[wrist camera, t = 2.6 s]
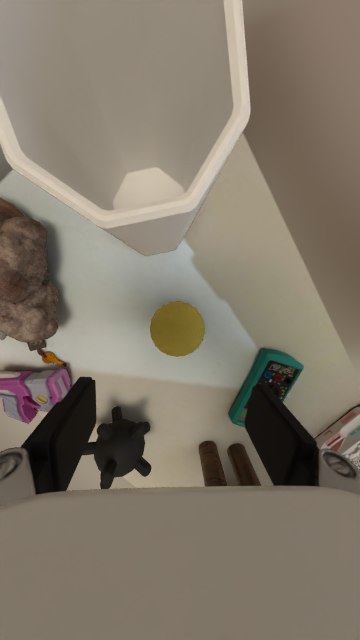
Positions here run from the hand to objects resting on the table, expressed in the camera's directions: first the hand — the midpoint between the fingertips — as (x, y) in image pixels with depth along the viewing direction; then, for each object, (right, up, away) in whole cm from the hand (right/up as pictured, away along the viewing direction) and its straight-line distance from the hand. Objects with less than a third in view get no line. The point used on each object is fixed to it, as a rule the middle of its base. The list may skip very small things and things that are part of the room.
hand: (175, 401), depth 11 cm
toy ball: (-9, -14, +23) cm, 28 cm away
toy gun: (-22, -12, +20) cm, 32 cm away
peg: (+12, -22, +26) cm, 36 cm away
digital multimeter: (+15, -7, +23) cm, 28 cm away
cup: (-4, +19, +14) cm, 24 cm away
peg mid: (+6, -21, +26) cm, 34 cm away
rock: (-22, +12, +16) cm, 30 cm away
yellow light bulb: (0, +6, +18) cm, 19 cm away
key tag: (-20, +1, +17) cm, 27 cm away
